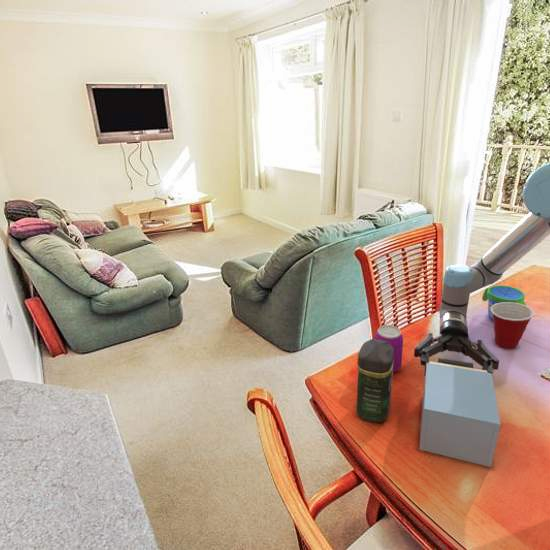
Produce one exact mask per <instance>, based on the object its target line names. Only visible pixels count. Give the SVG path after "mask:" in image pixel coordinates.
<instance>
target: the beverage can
mask: <svg viewBox="0 0 550 550" xmlns="http://www.w3.org/2000/svg"><path fill="white" fill-rule="evenodd" d="M374 339H376V340H381V341H386V342H388V343H389V344H390V345H391V346H392V347H393V350H394V356H393V359H394V360H393V373H396V372H398V371H399V370H400V369H401V368H402V363H403V362H402V361H403V350H404V349H403V348H404V337H403V333H402V330H401V329H400V328H399V327H397V326H395V325H390V324H383V325H381V326H379V327H378V328H377V330H376V333H375V334H374Z"/></svg>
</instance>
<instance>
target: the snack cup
mask: <svg viewBox="0 0 550 550" xmlns="http://www.w3.org/2000/svg"><path fill="white" fill-rule="evenodd" d="M481 297H482V298H481V301H483V302H487V317H488V318H489V319H490V320H491V321H493V322H494V318H493V314H492V312H491V310H490V309H491V306H492V305H494V304H496V303H501V302H513V303H519V304H523V305H526V302H525V298H526V294H525V292H524V291H522V290H521V289H519V288H517V287H513V286H509V285H502V284H501V285H492V286H490V287H489V286H488V287H487V288H485V290H484V291H483V294H482V296H481ZM526 306H527V305H526Z"/></svg>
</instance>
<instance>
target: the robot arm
mask: <svg viewBox="0 0 550 550" xmlns="http://www.w3.org/2000/svg"><path fill="white" fill-rule="evenodd" d="M522 201H523V203H524V206H525V207H526V209H527V210H528V213H527V215H525V216H524V217H523V218H522V219H521V220H520V221H519V222H517V224H516V225H515V226H513V228H512V229H510V230H509V232H507V233H506V234H505V235H504V236H503V237H501V239H500V240H498V241H497V243H495V245H493V246H492V247H491V248H490V249H489V250H488V251H487V252H486V253H485V254H484V255H483V256H482V257H480V259H479V260H478V261H477V262H476V263H474V264H472V265H470V266H468V265H465V264H451V265H448V266H447V267H446V268H445V271H444V275H443V279H442V291H441V299H440V303H439V310H438V312H439V335H438V336H437V335H434V333H432V332H428V333H427V336H426V337H425V338H424V339H423V340H421V342H420V343H418V344H417V345H416V346H414V352H413V356H414V358H420V365H421V366H424V376H423V377H425V374H426V365H427V363H429V361H430V358H431V357H433V356H435V355H437V354H439V353H444V352H446V351H447V352H455V353H459V354H460V353H461V354H462V355H463V356H465V357H468V358H470V359H471V360H473V361H474V362H475V363H476V364H478V365H479V366H480V367H482V368H481V370H486V371H487V373H492V375H493V374H494V373H493V372H494V371H497V370H499V367H500V359H499V358H497V356H496V355H495V354H494V353H493V352H492V351H491V350H489V348H488V347H487V346H486V345H485V344H484V342H483V340H482V339H477V340H476V341H472V340H471V339H470V336H469V335H470V333H469V327H468V320H467V319H468V318H467V317H468V316H467V314H468V306H469V301H470V295H471V294H472V293H474V292H476V291H478V290H481V289H483V288H485V287H487V286H490V285H493V284H495V283H496V282H498V281H500V279H502V277H503V274H504V273H505V272H506V271H508V270H509V269H510V268H511V267H512V266H514V265H515V264H516V263H517V262H519V261H520V260H521V259H522V258H523V257H525V256H526V255H528V253H529V252H531V251H532V250H533V249H534V248H536V247H537V246H538V245H539V244H541V242H543V241H544V240H545V239H546V238H548V237H549V236H550V162H548V163H545V164H542V165H541V166H540V167H538V168H536V169H535V170H534V171H533V172H531V174H530V175H529V176H528V177H527V179H526V181H525V183H524V186H523V189H522Z"/></svg>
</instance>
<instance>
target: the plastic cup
mask: <svg viewBox="0 0 550 550" xmlns="http://www.w3.org/2000/svg"><path fill="white" fill-rule="evenodd" d="M490 310H491V312H492V314H493V318H494V321H493V333H494V343H495V345H497V346H498V347H499V348H502V349H505V350H514V349H516V348H517V347H518V345H519V343H520V341H521V340H522V337H523V336H524V333H525V331H526V329H527V327H528V325H529V322H530V321H531V319H532V318H533V317H534V315H535V311H534V310H533V309H532V308H531V307H529V306H528V305H523V304H519V303H513V302H501V303H496V304H494V305H492V306H491V309H490Z"/></svg>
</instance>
